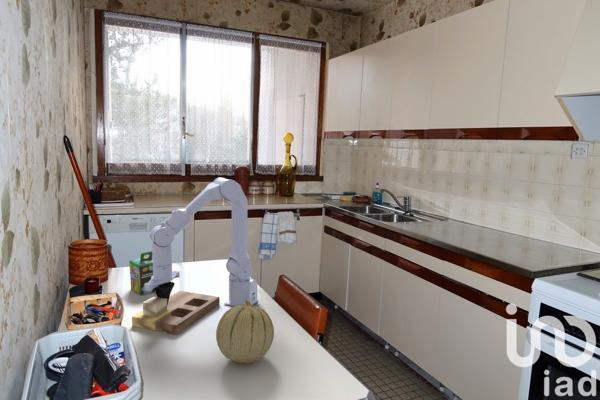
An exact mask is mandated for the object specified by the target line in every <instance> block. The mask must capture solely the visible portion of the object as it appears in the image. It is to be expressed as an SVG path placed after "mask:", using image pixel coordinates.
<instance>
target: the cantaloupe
mask: <svg viewBox="0 0 600 400" xmlns="http://www.w3.org/2000/svg"><path fill="white" fill-rule="evenodd" d="M246 303H247V304H246V305H238V306H231V308H229V309H227V311H225V312H224V314H223V315H222V316H221V318H220V319H219V320H218V323H217V326H216V332H215V334H216V335H215V339H216V345H217V347H218V348H219V352H220V353H221V354H222V355H223V356H224V357H225V358H226V359H227V360H228V361H231V362H233V363H234V362H235V363H237V364H250V363H251V364H252V363H254V362H257V361H259V360H261V359H262V358H264V357H265V355H266V354H267V353H268V351H269V350H270V348H271V347H272V344H273V341H274V337H275V327H274V323H273V321H272V318H271V317H270V315H269V313H268V312H266V311H265V310H264V309H262V308H261V307H260V306H256V305H254V304H253V305H251V303H250V302H249V301H246Z"/></svg>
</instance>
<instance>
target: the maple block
mask: <svg viewBox="0 0 600 400" xmlns="http://www.w3.org/2000/svg"><path fill="white" fill-rule="evenodd" d="M142 311H143V315H147V316H152V317H158V316H160V315H162V314H163V313H165V312H167V299H164V298H158V297H157V296H152V297H150V298H148V299H147V300H145V301H143V302H142Z"/></svg>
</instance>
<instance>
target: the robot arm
mask: <svg viewBox="0 0 600 400" xmlns="http://www.w3.org/2000/svg"><path fill="white" fill-rule="evenodd" d="M222 199H224V200H225V201H226V202H228V203H229V204H230V206H231V247H230V248H231V249H230V251H229V253H228V258H227V261H226V264H225V267H226V270H227V272H228V273H229V275H228V300H226V301H225V302H224V303H223V304H224V305H226V306H231V307H234V306H238V305H246V304H247V303H246V301H249V302H250V303H251V305H253V306H254V304H256V303H257V302H258V301H259V299H258V281H257V280H256V279H253V278H251V276H252V275H253V270H254V269H253V266H252V263H251V258H250V255H249V253H248V208H249V207H248V204H249V203H248V201H249V200H248V198H247V196H246V195H245V193H244V191H243V189H242V186H241V184H240V183H238V182H237V181H235V180H233V179H230V178H229V179H227V178H225V177H221V176H220V177H217V178H214V180H213V181H212V182H210V183H208V184H207V186H206V187H205V188H204V189H203V190H202V191H200V193H198V195H196V197H194V199H192V200H191V201H190V203H188V204H187V205H186V206H185V207H184V208H177V209H173V210H172V211H171V214H170V215H169V216H168V217H167V218H166V219H165V220H164V221H163V220H161V221H160V222H159V225H155V226H154V227H153V228H152V229H151V232H150V234H149V238H150V240H151V241H152V256H153V276H151V280H150V281H149V282H148V283H146V284H145V290H146V291H152V289H153V290H154V292H153V293H155V295H156V297H158V298H164V299H167V305H168V301H169V297H170V296H171V295H172V294H171V293H172V291H173V289H174V287H175V282H173V280H174V279H176V278H178V279H179V278H180V277H181V273H180V271H178V270H173V258H172V256H173V255H172V254H173V253H172V252H173V251H172V244H173V242H174V240H175V237H176V236H177V235H178V234H179V233H180V232H182V231H183V230H184V229H185V228H186V227H187V226H188V225H189V224H190V223H192V217H193V216H194V215H195V214H196V213H197V212H198V211H200V210H201V209H202V208H203V207H205V206H206V205H207V204H208V203H210V202H211V201H218V200H222Z"/></svg>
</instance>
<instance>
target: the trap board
mask: <svg viewBox="0 0 600 400" xmlns="http://www.w3.org/2000/svg"><path fill="white" fill-rule="evenodd" d="M220 305H221V304H220V296H214V295H209V294H203V293H197V292H196V293H195V292H192V291H191V292H190V291H183V290H179V291H177V292H175V293H173V294H170V297H169V301H168V305H167V312H165V313H163V314H162V315H160V316H158V317H152V316H147V315H143V310H141V311H140V312H138V313H136V314H134V315H132V316H131V325H132V327H135V328H141V329H144V330H145V329H146V330H150V331H155V332H159V333H165V334H170V335H174V336H177V335H178V334H180V333H182V332H183V331H185V330H186V329H188V328H189V327H190V326H192V325H193V324H195V323H196V322H198V321H200V319H203V318H204V317H205V316H207V315H208V314H209V313H210V312H212V311H213V310H216V309H217V308H218V307H220Z"/></svg>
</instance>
